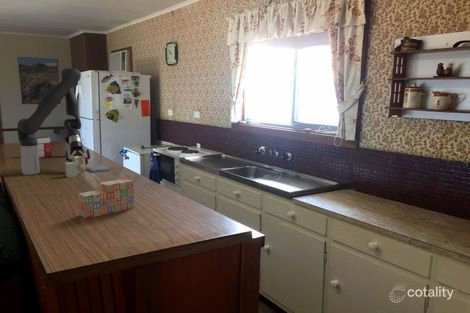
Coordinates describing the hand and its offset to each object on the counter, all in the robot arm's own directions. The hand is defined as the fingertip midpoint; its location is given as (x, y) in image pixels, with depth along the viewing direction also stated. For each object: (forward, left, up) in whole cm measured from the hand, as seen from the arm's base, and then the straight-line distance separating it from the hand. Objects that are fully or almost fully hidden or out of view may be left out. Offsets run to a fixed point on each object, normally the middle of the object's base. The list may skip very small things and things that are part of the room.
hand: (79, 164), depth 233 cm
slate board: (+12, +2, -5) cm, 13 cm away
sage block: (-7, -7, -5) cm, 11 cm away
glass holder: (+16, +64, -5) cm, 67 cm away
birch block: (0, +1, -5) cm, 5 cm away
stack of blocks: (-14, -86, -6) cm, 87 cm away
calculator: (-4, +75, -5) cm, 76 cm away
